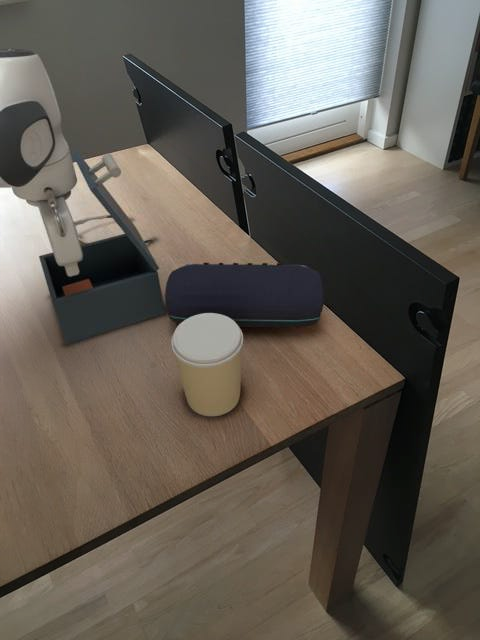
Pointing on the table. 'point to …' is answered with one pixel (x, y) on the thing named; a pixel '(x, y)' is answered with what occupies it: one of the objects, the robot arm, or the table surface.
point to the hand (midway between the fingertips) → (67, 256)
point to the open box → (104, 289)
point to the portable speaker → (246, 294)
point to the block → (77, 287)
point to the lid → (112, 200)
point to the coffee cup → (209, 362)
